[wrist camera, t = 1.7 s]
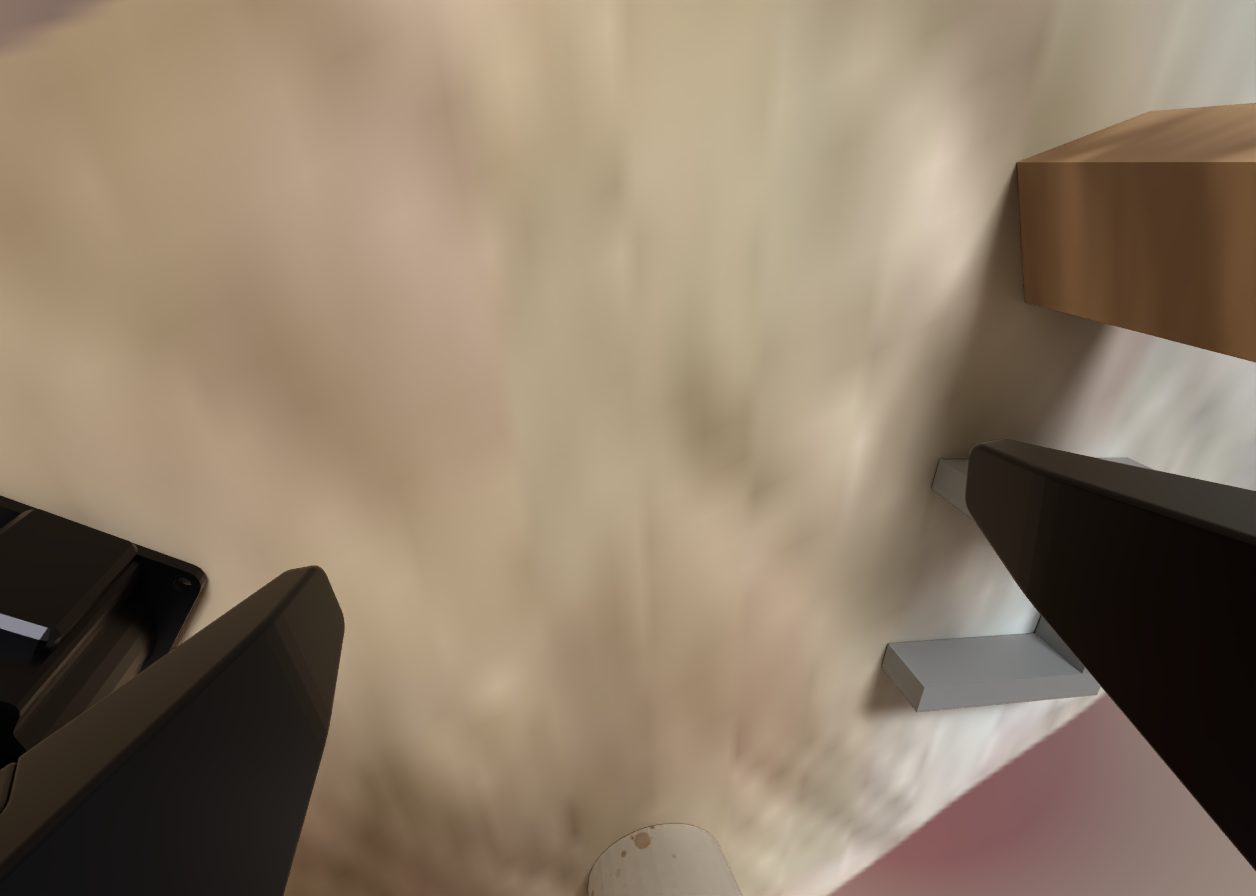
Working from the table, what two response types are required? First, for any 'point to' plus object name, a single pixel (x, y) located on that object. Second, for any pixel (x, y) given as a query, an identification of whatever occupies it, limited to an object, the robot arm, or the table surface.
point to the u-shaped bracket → (985, 649)
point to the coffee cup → (663, 865)
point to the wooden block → (1149, 227)
